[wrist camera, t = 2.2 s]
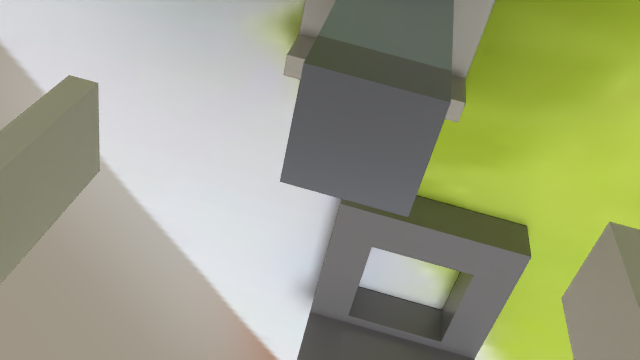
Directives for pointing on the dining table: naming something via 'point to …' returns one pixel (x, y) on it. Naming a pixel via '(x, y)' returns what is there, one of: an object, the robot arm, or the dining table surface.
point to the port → (401, 315)
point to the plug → (372, 101)
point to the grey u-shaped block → (467, 31)
